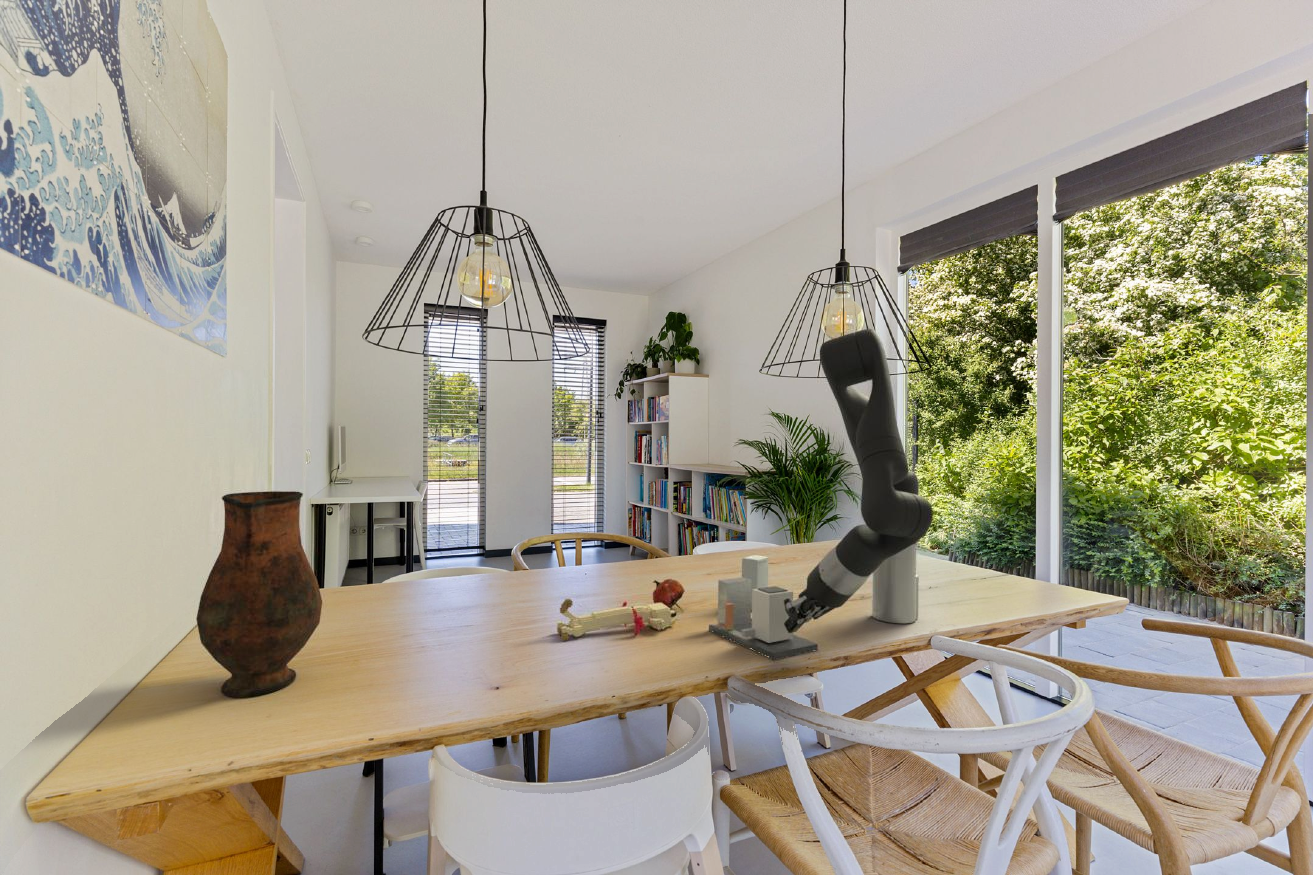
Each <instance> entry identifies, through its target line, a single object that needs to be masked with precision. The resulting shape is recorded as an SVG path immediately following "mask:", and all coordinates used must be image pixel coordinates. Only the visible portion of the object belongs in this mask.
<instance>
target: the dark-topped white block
mask: <svg viewBox="0 0 1313 875" xmlns="http://www.w3.org/2000/svg"><path fill="white" fill-rule="evenodd" d="M788 598H790V600H793V601H794V591H792V590H789V589H787V588H783V587H779V586H776V585H774V586H773V585H772V586H768V587H765V588H758V589H752V610H751V618H752V628H749V629H743V630H742V636H743V637H750V636H753V637H756V638H758V639H761V640H763V641H765V642H768V643H771V642H776V641H781V640H786V639H792V638H793V635H794V634H793V633H794V632H793V633H788V631H787V629H786V627H785V625H784V623H785V621H786V620H787V619H788V618H789V616H788V614H787V613H786V610H785V606H784V600H785V599H788Z"/></svg>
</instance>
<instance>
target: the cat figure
mask: <svg viewBox="0 0 1313 875" xmlns="http://www.w3.org/2000/svg"><path fill="white" fill-rule="evenodd" d="M573 604H574V603H573V600H572V599H570V598H565V599H564V601H563V602H562V604H560V606H561V607H559V613H560V614H562V615H563V616H564V617H565V618H568V619H569V621H568V623H566V622H563V621H561V620H560V621H557V626H556V632H557V634H558V636H559V635H561V636H560V637H561V639H562V641H563V642H566V641H568V640H569V636H570V635H571V636H573V637H575V638H576V637H582V635H586V633H590V632H595V631H600V629H603V628H608V627H609V628H610V627H613V626H619V625H625V626H624V627H626V628H628V625H632V624H633V625H634V628H635V630H634V633H633V635H634V636H637V635H638V634H639V633H640V630H641V629H645V624H648V625H649V626H651V627H652V628H653V629H656V630H658V631H660V630H661V629H662V630H664V629H665V628H669V627H670V626H674V625H675V624H676V621H679V618H678V617H676V616H677V612H676V611H674V610H673V609H671V608H669V607H667V606H666V605H664V604H663V603H650V604H647V605H636V606H628V604H627V601H624V602H623V603H622V606H621V607H616V608H610V609H604V610H598V611H592V612H591V613H588V614H584V615H578V616H576V615H574V614H573V613H572V612H571V611H570V610H569V608H572V606H574V605H573Z"/></svg>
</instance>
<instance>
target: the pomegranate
mask: <svg viewBox="0 0 1313 875" xmlns="http://www.w3.org/2000/svg"><path fill="white" fill-rule="evenodd" d="M652 583H655V585H656V586H655V589H654V590H653V591H652V602H653V604H655V603H663V604H664V605H666V606H667V607H669V608H670V609H671V608H672V607H674V606H676V607H677V608H679V610H680V611H681V612H682V613H684V610H683V608H682V607H681V606H680V605H678V603H677V602H679V600H680V599H682V597H683V594H684V593H685V589H684V587H683V585H682V583H681V582H679V580H675V579H672V578H668V579H663V581H661V582H660V581H657V580H654V581H652Z"/></svg>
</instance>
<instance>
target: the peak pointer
mask: <svg viewBox="0 0 1313 875" xmlns="http://www.w3.org/2000/svg"><path fill="white" fill-rule="evenodd" d="M733 606H734V604H732V603H728V604H726V607H725V629H727V630H730V629H733Z"/></svg>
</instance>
